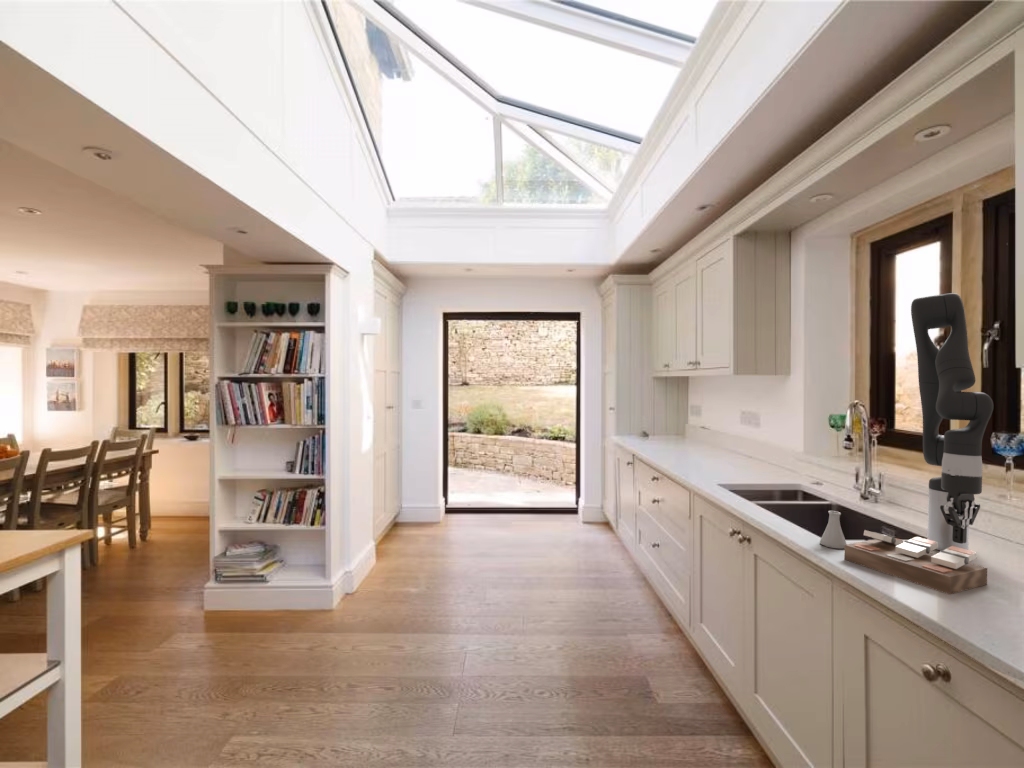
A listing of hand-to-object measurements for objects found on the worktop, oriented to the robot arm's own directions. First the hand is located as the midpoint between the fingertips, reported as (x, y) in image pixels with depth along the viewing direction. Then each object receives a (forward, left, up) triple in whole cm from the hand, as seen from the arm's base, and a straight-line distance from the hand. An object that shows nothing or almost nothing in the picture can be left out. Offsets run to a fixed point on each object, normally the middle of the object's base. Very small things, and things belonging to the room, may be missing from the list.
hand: (959, 542), depth 125 cm
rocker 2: (+3, -8, -3) cm, 9 cm away
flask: (+4, -29, -10) cm, 31 cm away
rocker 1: (+3, -16, -3) cm, 16 cm away
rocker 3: (+3, 0, -3) cm, 4 cm away
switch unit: (+5, -8, -9) cm, 13 cm away
